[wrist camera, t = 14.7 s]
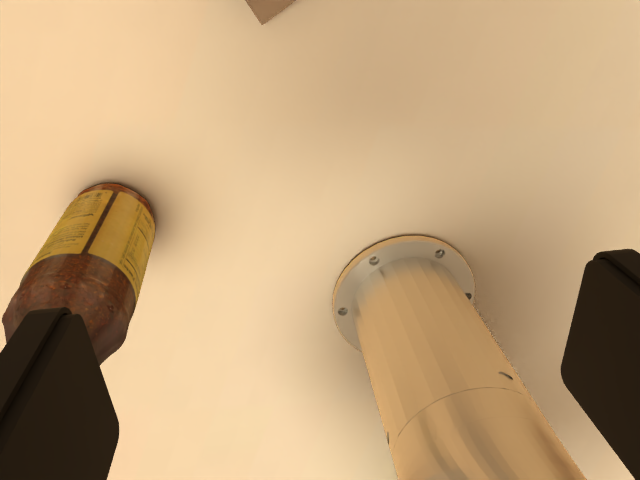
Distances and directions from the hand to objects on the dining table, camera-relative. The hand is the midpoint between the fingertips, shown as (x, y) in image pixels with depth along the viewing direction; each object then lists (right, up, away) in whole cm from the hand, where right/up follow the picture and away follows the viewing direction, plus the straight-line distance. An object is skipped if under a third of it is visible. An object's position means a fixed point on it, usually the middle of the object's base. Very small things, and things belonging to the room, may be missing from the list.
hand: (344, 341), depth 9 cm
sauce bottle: (-16, +4, +28) cm, 33 cm away
